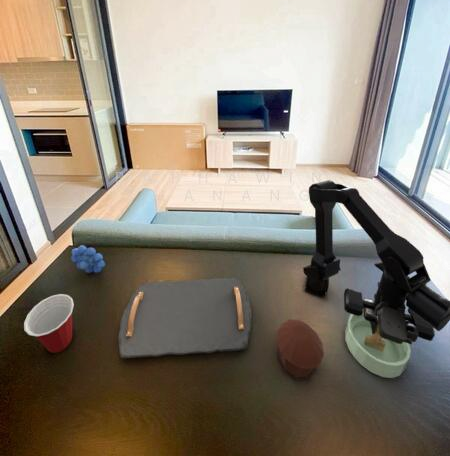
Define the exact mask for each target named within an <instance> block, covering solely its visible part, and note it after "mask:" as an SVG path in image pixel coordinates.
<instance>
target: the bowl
mask: <svg viewBox="0 0 450 456" xmlns="http://www.w3.org/2000/svg"><path fill="white" fill-rule="evenodd" d="M377 320H378V316H377ZM366 335H370V336H372V335H373V334H372V329H371V324H370V322H369V321H367V320H365V318H364V312H363V314H362V315H361V316H356V315H353V314H350V315H349V318H348V320H347V323H346V328H345V331H344V340H345V343H346V346H347V349H348V350H349V351H350V354H351V355H352V357H353V358H354V359H355V360H356V362H358V363H359V364H360V365H361V366H362V367H363V368H364V369H366V370H367V371H369V372H370V373H372V374H374V375H377V376H378V377H382V378H388V379H395V378H397V377H400V376H401V375H402V374H403V372H404V371H405V369H406V368H407V365H408V364H409V363H408V362H409V360H410V358H411V345H410V344H408V343H405V342H403V343H402V344H398V343H396V342H393V341H390V340H388V339H384V338H382V339H381V340H384V341H385V343H386V345H385V348H384V350H383V351H380V350H377V349H375V348H372V347H370V346H367V345H365V342H364V341H365V338H366Z"/></svg>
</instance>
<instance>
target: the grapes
mask: <svg viewBox="0 0 450 456" xmlns="http://www.w3.org/2000/svg"><path fill="white" fill-rule="evenodd" d="M103 259H104V257H103V255H102V253H100V252H99V253H98V252H97V253H96V249H95V248H94V247H87V246H86V245H79V246H77V247H76V248H72V250H71V257H70V260H71V262H72V263H75V264H76V268H77V269H79V270H83V271H85V272H86V273H87V274H91V273H93V272H94V273H96V274H98V273H100V272H102V269H103V268H105V267H106V263H105V261H104V260H103Z"/></svg>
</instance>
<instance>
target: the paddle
mask: <svg viewBox="0 0 450 456" xmlns="http://www.w3.org/2000/svg"><path fill="white" fill-rule="evenodd" d="M377 322H378V320H377ZM381 339H382V337H381V336H380V335H379V332H378V324H376V329H375V333H374V334H373V335H372V336H370V335H366V338H365V341H364V342H365V345H367V346H370V347H372V348H375V349H377V350H380V351H383V350H384V348H385V345H386V343H385V341H384V340H381Z"/></svg>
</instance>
